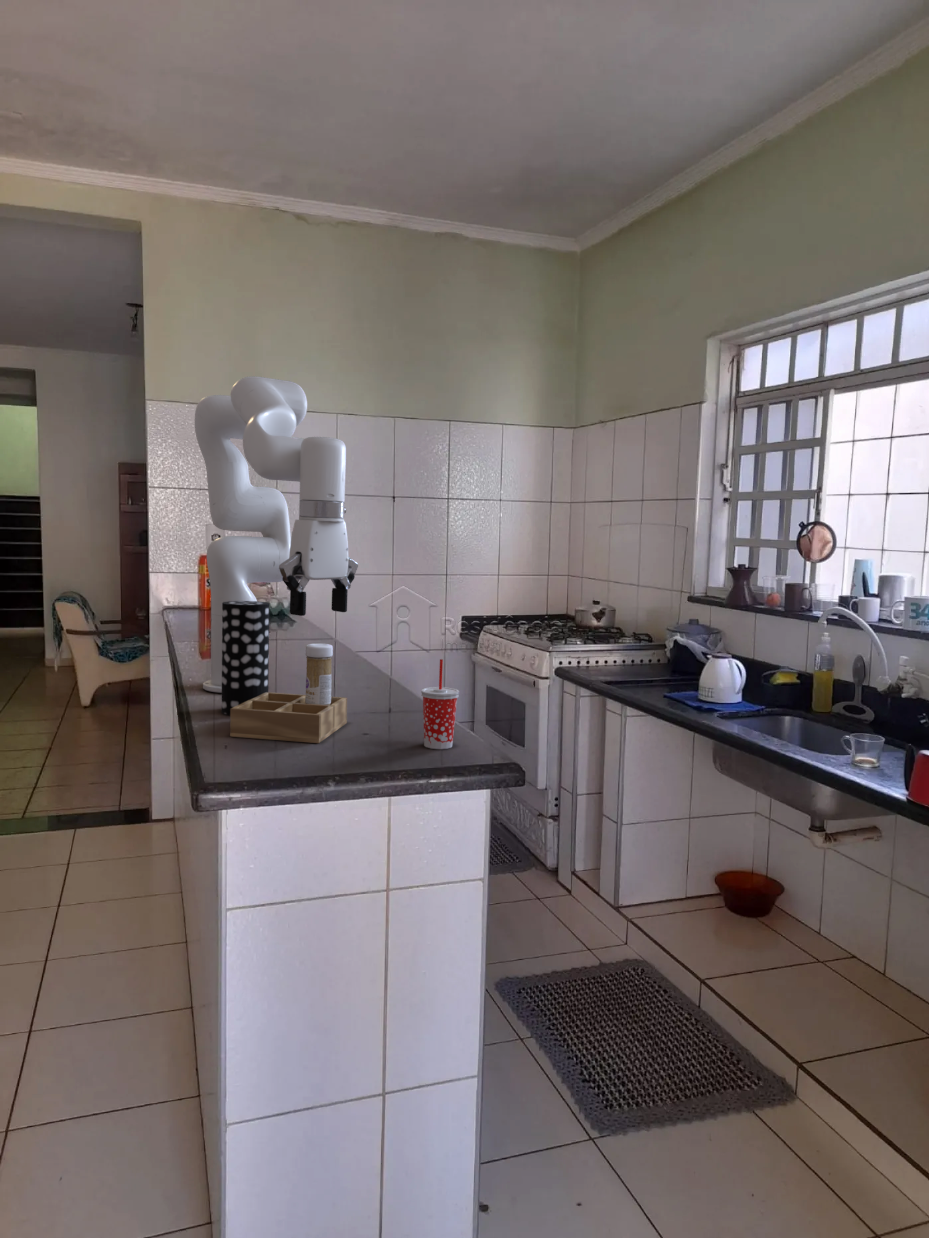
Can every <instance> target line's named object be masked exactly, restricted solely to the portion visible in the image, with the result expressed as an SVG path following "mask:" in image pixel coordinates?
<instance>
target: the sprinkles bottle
mask: <svg viewBox="0 0 929 1238" xmlns="http://www.w3.org/2000/svg"><path fill="white" fill-rule="evenodd" d="M333 648H334V647H333V645H332V644H329V643H309V644H306V645H305V656H306V672H305V673H306V677H305V695H306V696H305V702H306V704H320V705H330V704H331V697H332V679H333V678H332V674H333V673H332V658H333V656H334V655H333V654H334V653H333V651H334V649H333Z"/></svg>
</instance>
